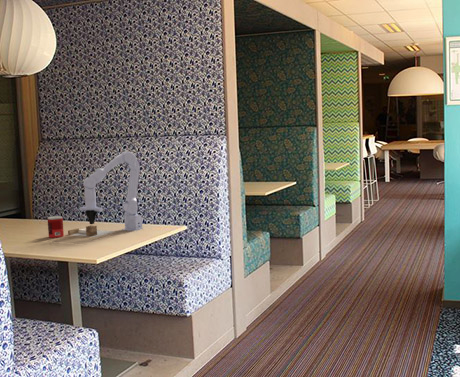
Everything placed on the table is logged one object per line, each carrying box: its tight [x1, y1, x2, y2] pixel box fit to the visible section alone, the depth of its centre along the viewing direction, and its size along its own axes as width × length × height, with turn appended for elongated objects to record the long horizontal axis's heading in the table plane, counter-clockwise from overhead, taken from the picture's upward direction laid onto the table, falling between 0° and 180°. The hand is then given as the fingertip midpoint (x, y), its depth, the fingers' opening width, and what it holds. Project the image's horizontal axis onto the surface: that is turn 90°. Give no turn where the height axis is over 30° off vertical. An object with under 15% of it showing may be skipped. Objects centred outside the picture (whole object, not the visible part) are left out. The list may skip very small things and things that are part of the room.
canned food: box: [47, 215, 65, 239], centre depth 335 cm, size 8×8×11 cm
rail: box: [67, 228, 80, 236], centre depth 342 cm, size 2×7×2 cm, turn 152°
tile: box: [79, 227, 86, 234], centre depth 344 cm, size 2×7×7 cm
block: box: [85, 225, 98, 237], centre depth 335 cm, size 4×4×5 cm
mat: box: [72, 229, 116, 238], centre depth 342 cm, size 20×17×1 cm
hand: (92, 223), depth 342 cm, fingers closed
